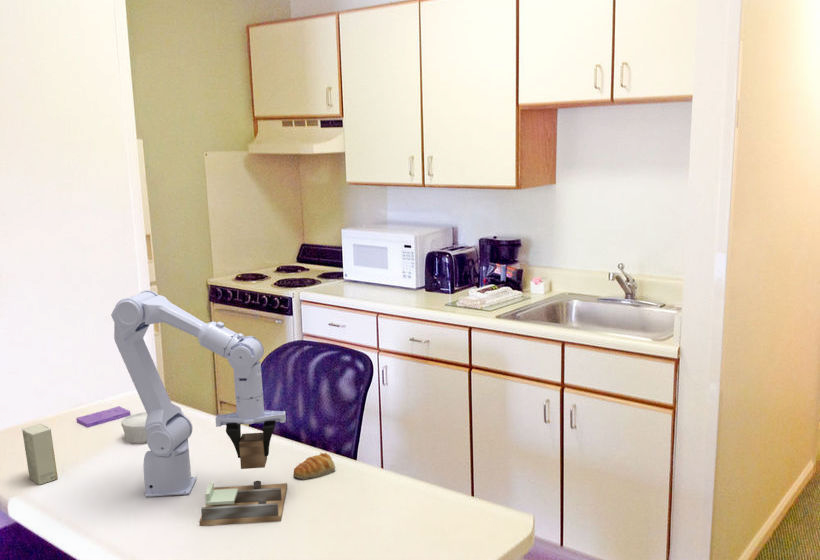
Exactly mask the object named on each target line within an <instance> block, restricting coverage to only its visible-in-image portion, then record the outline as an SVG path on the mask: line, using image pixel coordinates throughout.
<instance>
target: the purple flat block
mask: <svg viewBox="0 0 820 560" xmlns="http://www.w3.org/2000/svg"><path fill="white" fill-rule="evenodd" d="M130 415H132V414H131V410H130V409H126V408H124V407H122V406H115V407H112V408H109V409H106V410H101V411H96V412H93V413H90V414H86V415H81V416H77V417H76V419H75V420H76V422H77V424H80V425H81V426H84V427H85V428H88V429H89V428H92V427H95V426H99V425H102V424H106V423H109V422H110V423H111V422H113V421H116V420H120V419H124V418H126V417H127V416H130Z"/></svg>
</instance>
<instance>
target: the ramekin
mask: <svg viewBox="0 0 820 560" xmlns="http://www.w3.org/2000/svg"><path fill="white" fill-rule="evenodd" d="M146 419H147V412H146V411H145V412H137V413H134V414H133V413H132V414H131V415H130V416H127V417H124V418H122V420H121V422H120V423H121V427H122V430H123V433H124V437H125V440H126V441H127V442H129V443H130V444H136V445H137V444H139V445H140V444H147V433H146V430H145V423H146Z"/></svg>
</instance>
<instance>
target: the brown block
mask: <svg viewBox="0 0 820 560" xmlns="http://www.w3.org/2000/svg"><path fill="white" fill-rule="evenodd" d="M239 449H240V458H239V460H240V469H241V470H247V469H248V470H249V469H261V468H262V469H263V468H264V469H265V467H266V464H267V460H268V456H265V454H264V435H263V432H252V433H250V432H249V433H247V432H246V433H241V438H240V441H239Z"/></svg>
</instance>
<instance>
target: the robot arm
mask: <svg viewBox="0 0 820 560" xmlns="http://www.w3.org/2000/svg"><path fill="white" fill-rule="evenodd" d="M113 308H114V309H113V310H112V312H111V315H110V316H111V318H112V320H113V323H114V325H113V326H114V327H113V328H114V333H113V334H114V337H113V338H114V343H115V345H116V347H117V349H118V352H119V354H120V356H121V358H122V360H123V363H124V365H125V368H126V369H127V372H128V374H129V376H130V378H131V381H132V383H133V385H134V387H135V391H136V392H137V394H138V396H139V399H140V401H141V403H142V405H143V407H144V410H145V412H147V419H146V423H145V430H146V433H147V443H146V444H147V446H148V448H149V450H148V451H146V452H145V454H144V458H143V476H144V488H145V494H144V497H147V498H149V497H166V496H181V495H182V496H184V495H189V494H190V493H191V492H192V489H193V487H194V486H195V483H196V481H197V477H196V476H192V474H191V461H190V450H189V449H190V448H189V439H190V437H191V435H192V433H193V424H192V421H191V420H190V419H189V417H188V416H186V415H185V414H184V412H183V411H182V409H181V407H180V406H178V405H176V404H174V403H172V400H171V399H170V396H169V394H168V392H167V390H166V387H165V385H164V383H163V380H162V378H161V376H160V373H159V372H158V369H157V367H156V365H155V362H154V360H153V358H152V355H151V353H150V351H149V349H148V346H147V344H146V342H145V339H144V338H145V337H144V336H145V335H146V333H147V332H148V329H149V327H150V325H153V324H160V323H163V324H167V325H169V326H171V327H174V328H176V329H179V330H181V332H184V333H186V334H189V335H191V336H193V337H196V338H197V340H198V343H199V346H201V347H203V348H205V349H207V350H209V351H211V352H212V353H214V354H217V355H218V356H221V358H225V359H227V362H228V363H229V365H230V367H232V369H233V379H234V380H233V381H234V382H233V383H234V396H235V407H236V409H235V410H236V411H235V412H232V413H226V414H216V416H215V418H214V419H215V427H216V428H218V427H222V426H225V432H226V434H227V436H228V438H229V439H230V441H231V442H232V444H233V446H234V449H235V451H236V454H237V458H238V459H240V449H239V441H240V438H241V436H242V431H241V429H242V428H241V425H252V424H263V425H262V433H263V435H264V454H265V456H267V457H268V456H269V454H270V442H271V439H272V437H273V432H274V431H275V428H276V425H277V423H280V424H283V423H286V420H287V419H286V418H287V417H286V411H285V410H283V411H282V410H268V409H267V410H265V407H264V406H265V405H264V403H265V402H264V391H263V378H262V374H263V373H262V366H261V361H260V360H261V359H262V358H263V355H264V353H265V352H264V349H265V348H264V345H263V344H262V342H261V341H260V339H257V338H256V336H253V335H246V336H245V334H243V333H241V332H239V333H238V332H235V331H234V330H231V329H230V328H227V327H225V323H223V322H222V321H218V322H216V321H210V322H207V323H206V322H204V321H202V320H201V319H199V318H198V317H196V316H194V315H193V314H191V313H189V312H187V311H186V310H184V309H182V308H180V307H179V306H177V305H176V304H174V303H173V302H171V301H169V299H168V298H167V297H165V296H164V295H161V294H158V293H157V292H155V291H153V290H143V291H141V292H140V293H137V294H134V295H131V296H130V297H126V298H122V299H120V300H119V301H118V302H117V303H116V304H115V306H114V307H113Z"/></svg>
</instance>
